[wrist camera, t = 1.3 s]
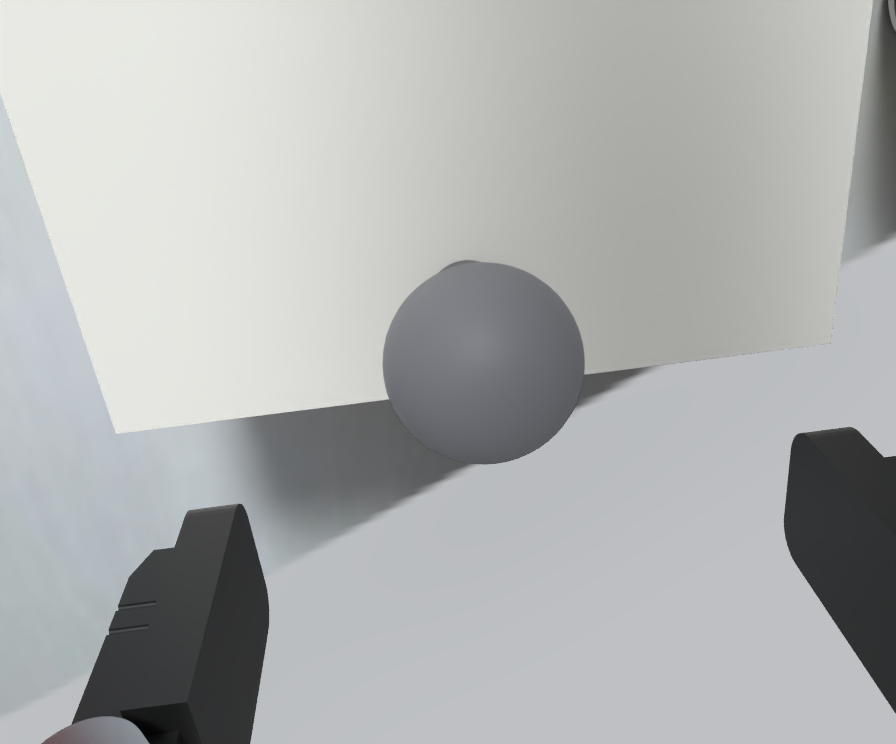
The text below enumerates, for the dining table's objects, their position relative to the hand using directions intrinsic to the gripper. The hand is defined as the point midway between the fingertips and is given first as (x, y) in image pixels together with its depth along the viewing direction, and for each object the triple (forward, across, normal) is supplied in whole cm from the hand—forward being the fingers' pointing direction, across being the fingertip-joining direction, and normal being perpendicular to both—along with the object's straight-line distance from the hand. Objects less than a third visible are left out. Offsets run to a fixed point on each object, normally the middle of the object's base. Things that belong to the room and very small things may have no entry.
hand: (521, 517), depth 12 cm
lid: (+9, 0, -7) cm, 12 cm away
